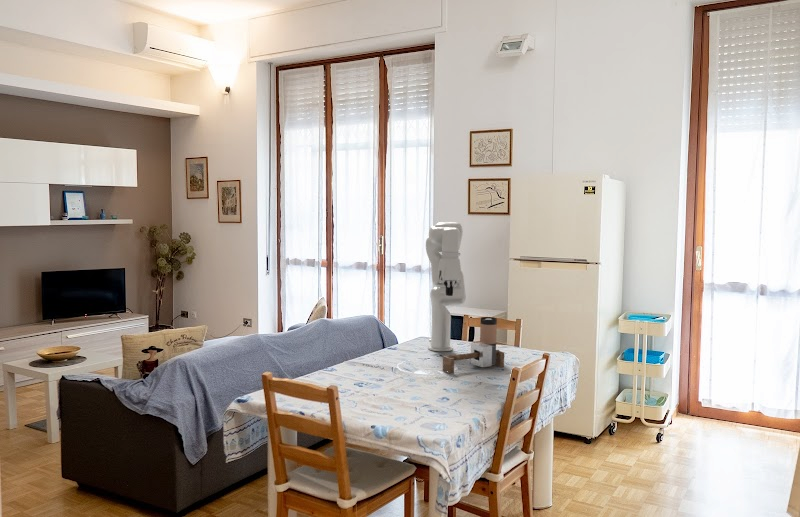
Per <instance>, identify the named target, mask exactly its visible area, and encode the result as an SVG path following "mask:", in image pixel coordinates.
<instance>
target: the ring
mask: <svg viewBox="0 0 800 517" xmlns="http://www.w3.org/2000/svg"><path fill="white" fill-rule="evenodd" d="M484 344H487V343H484ZM487 345H490V344H487ZM490 346H492V365H493V364H495V363H496V350H497V345H496V346H493V345H490ZM493 366H494V365H493Z"/></svg>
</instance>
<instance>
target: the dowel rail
mask: <svg viewBox="0 0 800 517" xmlns="http://www.w3.org/2000/svg"><path fill="white" fill-rule="evenodd" d="M479 355H480V352H475V353H471V352H469V353H467V352H466V353H462V354H461V353H459V354H449V355H443V356H442V371H443V372H445V371H448V372H449V373H453V374H455V361H461V360H471V358H479ZM493 366H496V367H498V366H499V368H504V367H505V352H503V351H501V350H499V349H496V363H495V364H493ZM449 373H448V374H449Z"/></svg>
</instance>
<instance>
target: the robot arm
mask: <svg viewBox="0 0 800 517" xmlns="http://www.w3.org/2000/svg"><path fill="white" fill-rule="evenodd" d="M428 230H429V231H428V237H427V239H426V241H425V251H426V255H427V257H428V260H429V262H430V266H431V267H430V268H431V280H432V281H431V282H432V285H434V287H433V288H432V289H431V290H430V303H431V332H430V333H431V338H430V339H428V342H429V343H430V344H429V345H428V346H427V349H428V350H430V351H433V352H450V351H453V350H454V347H453V345H451V324H452V323H451V321H452V316H451V312H450V310H449V309H448V308H447V306H448V307H449V306H450V307H451V306H456V307H457V306H463V305H464V304H465V303H466V287H465V278H464V273H463V271H462V269H461V267H462V266H461V261H460V258H459V257H460V256H461V253H460V252H459V250H460V248H461V243H462V238H463V226H462V224H461V223H459V222H458V221H457V222H456V221H440V222H437V223H436V224H434V225H431V226H430V228H429V229H428Z"/></svg>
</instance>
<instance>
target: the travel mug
mask: <svg viewBox="0 0 800 517" xmlns="http://www.w3.org/2000/svg"><path fill="white" fill-rule="evenodd" d="M497 324H498V318H496V317H494V316H493V317H492V316H482V317H480V327H479V328H480V330H479V342H481V343H487V344H490V345H493V346H496V347H497V336H498V335H497V327H498V326H497Z"/></svg>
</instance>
